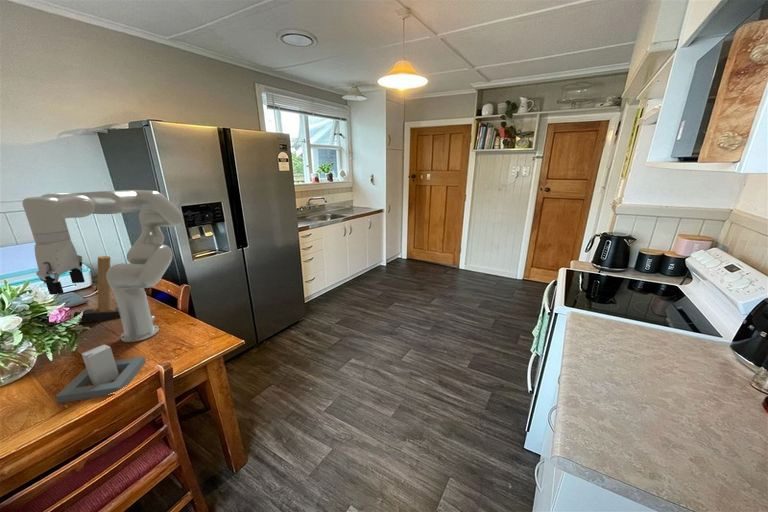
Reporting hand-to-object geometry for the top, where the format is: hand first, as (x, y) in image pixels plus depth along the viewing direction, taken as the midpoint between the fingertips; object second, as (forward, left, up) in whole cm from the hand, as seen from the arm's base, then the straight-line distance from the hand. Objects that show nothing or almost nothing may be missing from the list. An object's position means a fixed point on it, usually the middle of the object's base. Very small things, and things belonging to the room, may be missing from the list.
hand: (68, 287), depth 96 cm
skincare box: (+10, +9, -31) cm, 33 cm away
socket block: (+10, +9, -30) cm, 33 cm away
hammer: (-40, -16, -31) cm, 53 cm away
